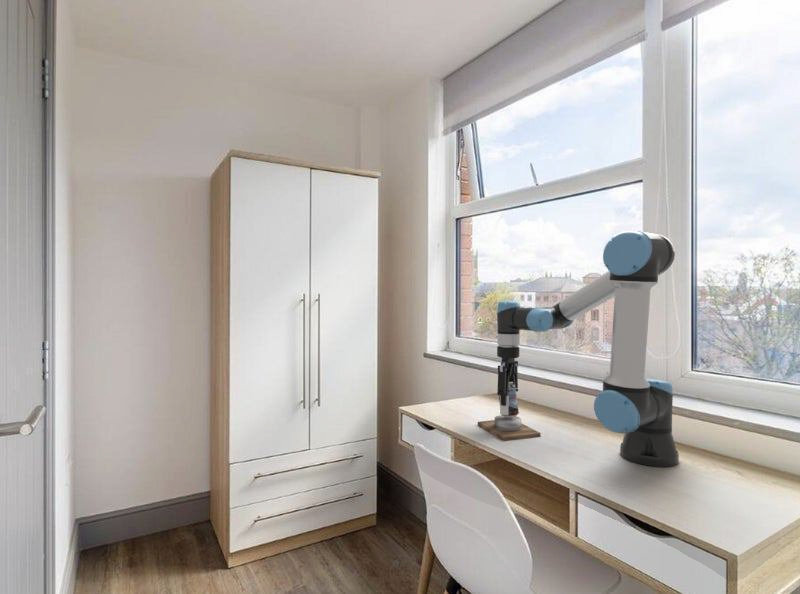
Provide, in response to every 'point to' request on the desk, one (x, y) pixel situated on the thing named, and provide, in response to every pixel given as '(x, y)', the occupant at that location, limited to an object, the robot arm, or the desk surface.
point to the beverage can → (512, 401)
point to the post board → (509, 434)
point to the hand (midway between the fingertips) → (507, 412)
